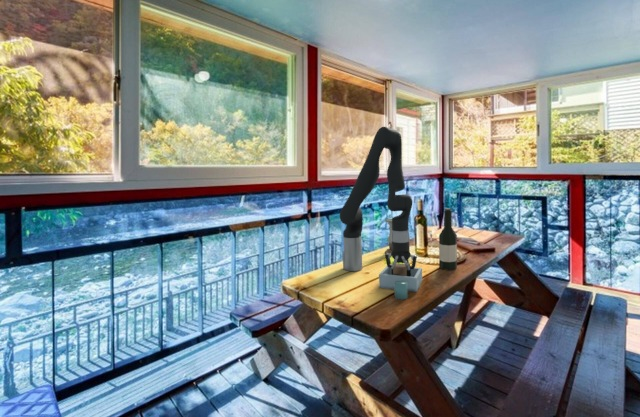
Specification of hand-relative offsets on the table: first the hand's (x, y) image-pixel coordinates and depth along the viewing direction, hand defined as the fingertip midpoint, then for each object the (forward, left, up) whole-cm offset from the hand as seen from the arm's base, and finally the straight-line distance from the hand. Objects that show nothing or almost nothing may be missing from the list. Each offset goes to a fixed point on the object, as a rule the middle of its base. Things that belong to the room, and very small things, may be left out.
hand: (401, 276), depth 150 cm
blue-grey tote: (0, 0, -3) cm, 3 cm away
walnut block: (0, 0, -1) cm, 1 cm away
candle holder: (-16, +50, -4) cm, 52 cm away
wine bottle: (+17, +30, -4) cm, 34 cm away
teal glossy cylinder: (+3, -14, -3) cm, 15 cm away
